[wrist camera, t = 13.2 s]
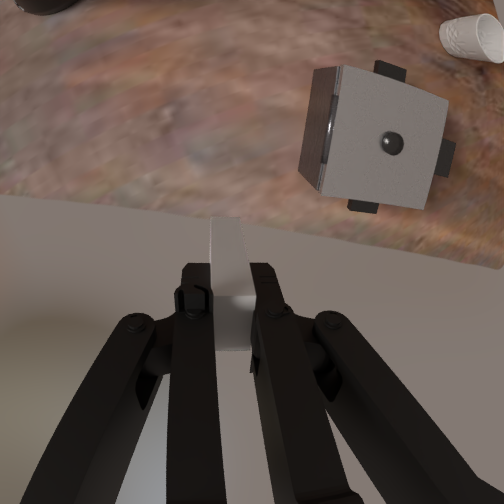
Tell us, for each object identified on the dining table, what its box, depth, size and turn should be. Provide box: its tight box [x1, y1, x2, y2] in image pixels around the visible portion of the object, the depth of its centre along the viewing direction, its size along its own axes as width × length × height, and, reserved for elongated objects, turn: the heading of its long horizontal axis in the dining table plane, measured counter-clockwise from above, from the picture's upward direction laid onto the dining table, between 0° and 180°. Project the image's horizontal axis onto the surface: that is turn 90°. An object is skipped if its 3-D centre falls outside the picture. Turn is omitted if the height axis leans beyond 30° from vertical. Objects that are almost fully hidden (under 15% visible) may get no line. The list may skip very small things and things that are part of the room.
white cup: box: [439, 14, 504, 63], centre depth 30 cm, size 8×8×10 cm
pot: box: [298, 60, 406, 214], centre depth 38 cm, size 20×15×9 cm
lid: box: [318, 64, 456, 210], centre depth 34 cm, size 15×19×2 cm
